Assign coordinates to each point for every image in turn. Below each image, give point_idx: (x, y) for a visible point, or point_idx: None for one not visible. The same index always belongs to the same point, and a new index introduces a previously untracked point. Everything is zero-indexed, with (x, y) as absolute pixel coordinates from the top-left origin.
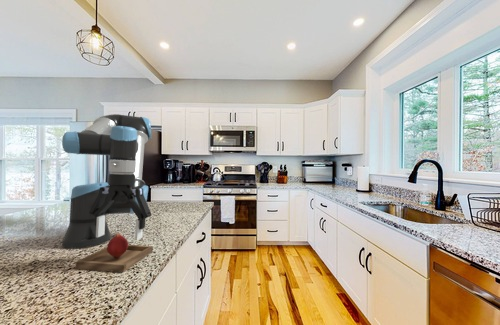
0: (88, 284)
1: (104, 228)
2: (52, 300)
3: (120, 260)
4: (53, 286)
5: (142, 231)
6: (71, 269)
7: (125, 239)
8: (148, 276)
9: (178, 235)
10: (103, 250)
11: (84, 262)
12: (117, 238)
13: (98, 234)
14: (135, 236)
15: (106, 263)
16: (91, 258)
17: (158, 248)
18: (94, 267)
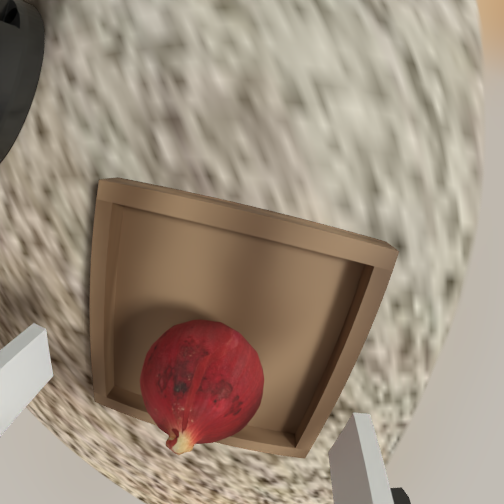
0: (227, 475)
1: (17, 356)
2: (193, 500)
3: None
4: (142, 462)
5: (379, 452)
6: None
7: (243, 412)
8: (392, 453)
9: None
10: (105, 291)
11: (128, 414)
12: (197, 442)
13: (42, 382)
14: (333, 473)
15: (224, 443)
16: (110, 354)
17: (409, 181)
18: None
